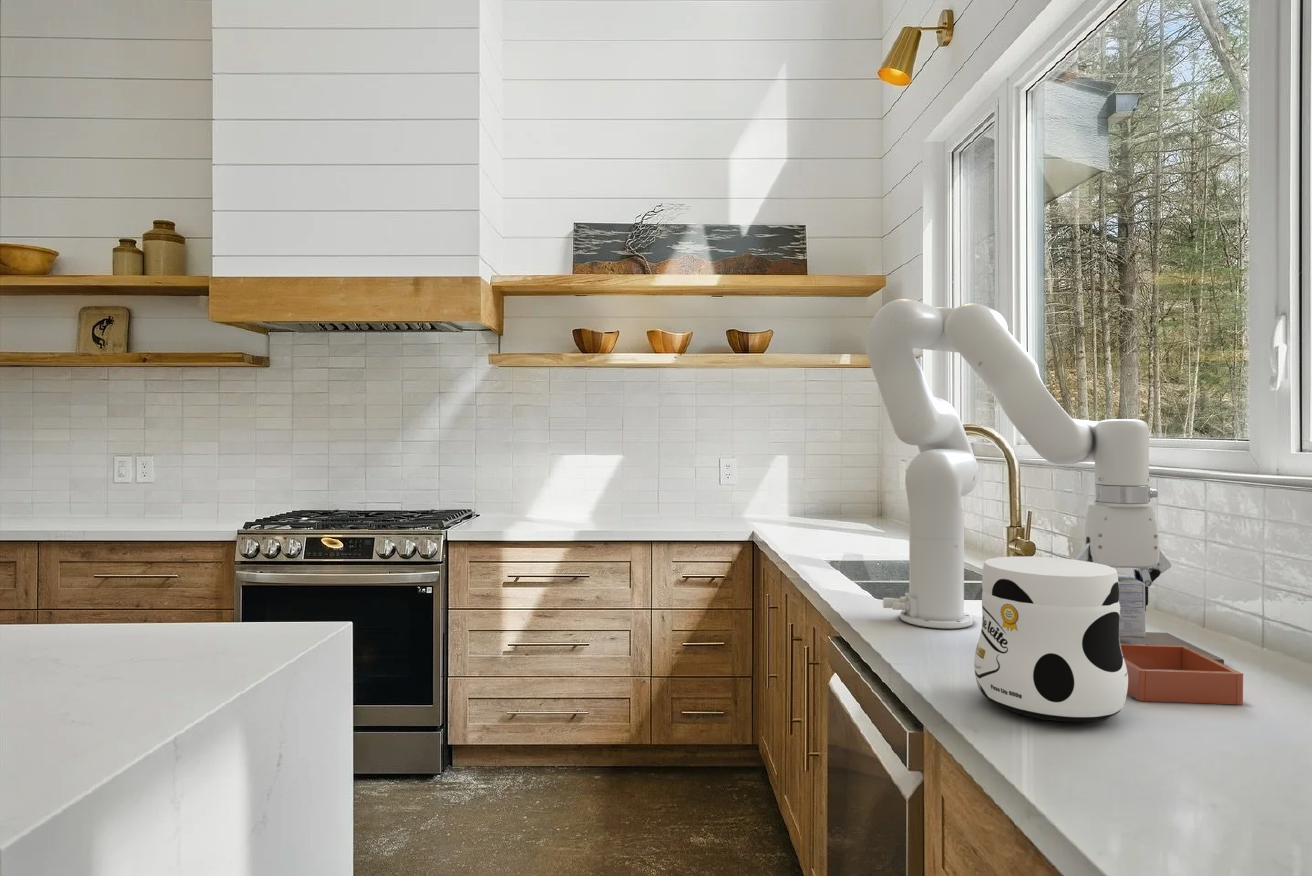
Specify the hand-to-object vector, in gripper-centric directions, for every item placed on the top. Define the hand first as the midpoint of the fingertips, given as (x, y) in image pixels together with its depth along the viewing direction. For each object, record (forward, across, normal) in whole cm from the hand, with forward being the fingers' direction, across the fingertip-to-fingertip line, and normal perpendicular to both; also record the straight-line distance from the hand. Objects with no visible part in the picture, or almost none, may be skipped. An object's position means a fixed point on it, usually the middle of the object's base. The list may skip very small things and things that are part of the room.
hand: (1120, 608), depth 127 cm
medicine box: (+4, 0, 0) cm, 4 cm away
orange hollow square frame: (+7, +3, +19) cm, 20 cm away
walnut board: (+7, 0, 0) cm, 7 cm away
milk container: (+7, +22, +30) cm, 38 cm away
